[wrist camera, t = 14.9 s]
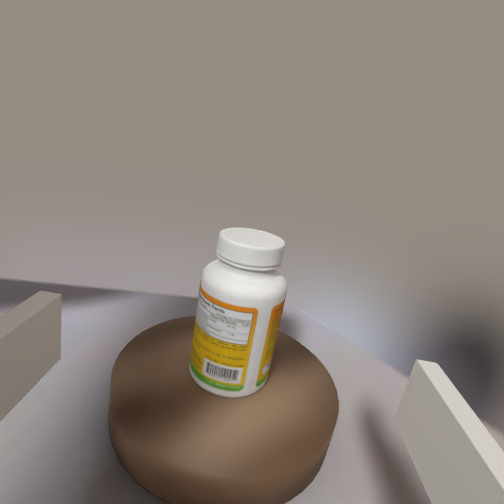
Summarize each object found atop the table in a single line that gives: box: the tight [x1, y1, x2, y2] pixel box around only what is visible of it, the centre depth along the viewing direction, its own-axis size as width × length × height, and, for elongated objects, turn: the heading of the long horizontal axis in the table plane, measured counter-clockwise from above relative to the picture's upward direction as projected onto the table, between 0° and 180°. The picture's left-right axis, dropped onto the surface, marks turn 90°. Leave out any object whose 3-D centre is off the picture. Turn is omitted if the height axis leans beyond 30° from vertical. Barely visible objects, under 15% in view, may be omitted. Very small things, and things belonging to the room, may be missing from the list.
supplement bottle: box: [189, 228, 287, 398], centre depth 22 cm, size 5×5×10 cm
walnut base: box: [108, 316, 339, 504], centre depth 24 cm, size 15×15×3 cm
